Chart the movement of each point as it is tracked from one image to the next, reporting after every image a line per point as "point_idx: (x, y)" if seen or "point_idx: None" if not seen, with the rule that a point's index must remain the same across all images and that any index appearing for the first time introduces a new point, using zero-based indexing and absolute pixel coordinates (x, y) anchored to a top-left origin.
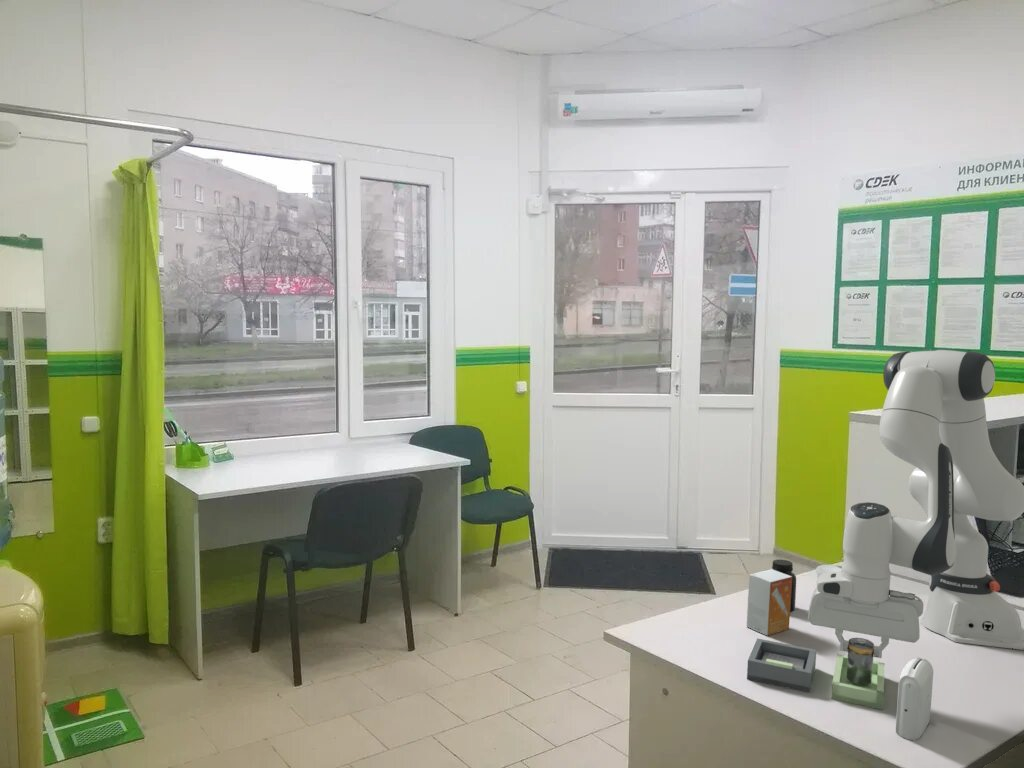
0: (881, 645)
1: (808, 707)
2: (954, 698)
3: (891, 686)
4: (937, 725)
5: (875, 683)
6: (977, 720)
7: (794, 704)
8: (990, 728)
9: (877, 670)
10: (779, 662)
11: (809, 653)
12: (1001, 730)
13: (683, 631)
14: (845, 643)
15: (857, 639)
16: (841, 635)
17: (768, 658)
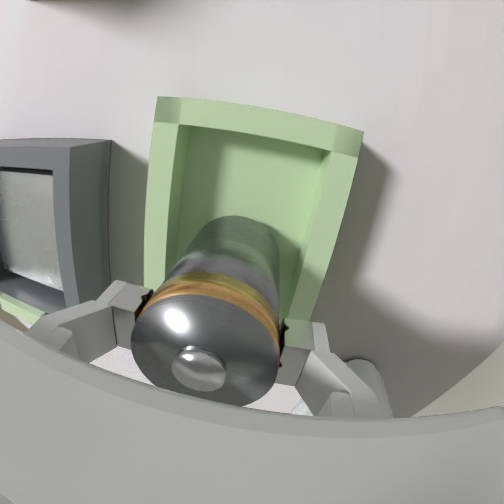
0: (312, 402)
1: (124, 364)
2: (493, 238)
3: (357, 202)
4: (387, 376)
5: (297, 241)
6: (476, 329)
7: (100, 356)
8: (477, 349)
9: (325, 149)
10: (19, 312)
11: (54, 195)
12: (488, 348)
13: None
14: (124, 347)
15: (173, 364)
16: (84, 334)
17: (2, 211)
